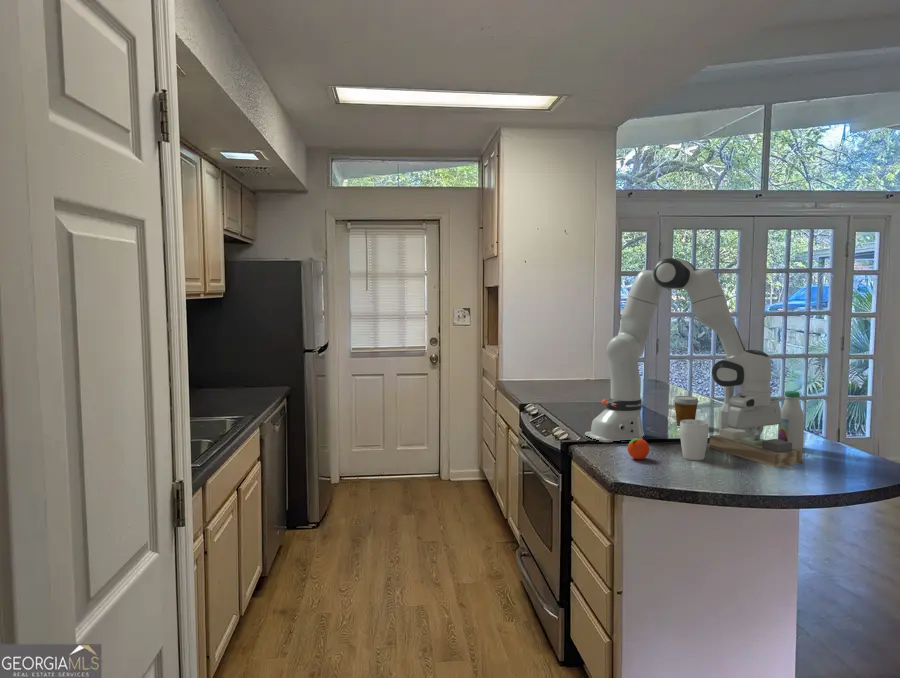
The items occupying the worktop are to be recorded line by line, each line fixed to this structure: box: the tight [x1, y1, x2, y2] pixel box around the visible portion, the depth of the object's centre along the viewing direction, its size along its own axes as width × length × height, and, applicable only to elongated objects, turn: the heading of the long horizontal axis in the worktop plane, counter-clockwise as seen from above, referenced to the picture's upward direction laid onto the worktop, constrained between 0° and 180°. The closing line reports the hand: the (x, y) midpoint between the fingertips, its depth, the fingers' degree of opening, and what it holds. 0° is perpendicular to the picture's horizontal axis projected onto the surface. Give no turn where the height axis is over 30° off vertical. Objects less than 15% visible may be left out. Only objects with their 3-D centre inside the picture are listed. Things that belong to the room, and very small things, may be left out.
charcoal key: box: [762, 438, 792, 453], centre depth 198 cm, size 6×6×4 cm
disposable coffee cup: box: [672, 395, 699, 427], centre depth 249 cm, size 10×10×12 cm
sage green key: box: [740, 437, 765, 446], centre depth 207 cm, size 6×6×4 cm
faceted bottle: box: [717, 386, 736, 431], centre depth 225 cm, size 6×6×22 cm
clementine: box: [627, 438, 650, 460], centre depth 203 cm, size 8×7×7 cm
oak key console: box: [709, 434, 804, 468], centre depth 207 cm, size 12×27×4 cm, turn 21°
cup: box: [679, 419, 710, 461], centre depth 204 cm, size 9×9×12 cm
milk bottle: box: [777, 390, 805, 451], centre depth 214 cm, size 8×8×20 cm
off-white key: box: [719, 428, 748, 440], centre depth 215 cm, size 6×6×4 cm
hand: (754, 439), depth 207 cm, fingers closed, pressing on sage green key
